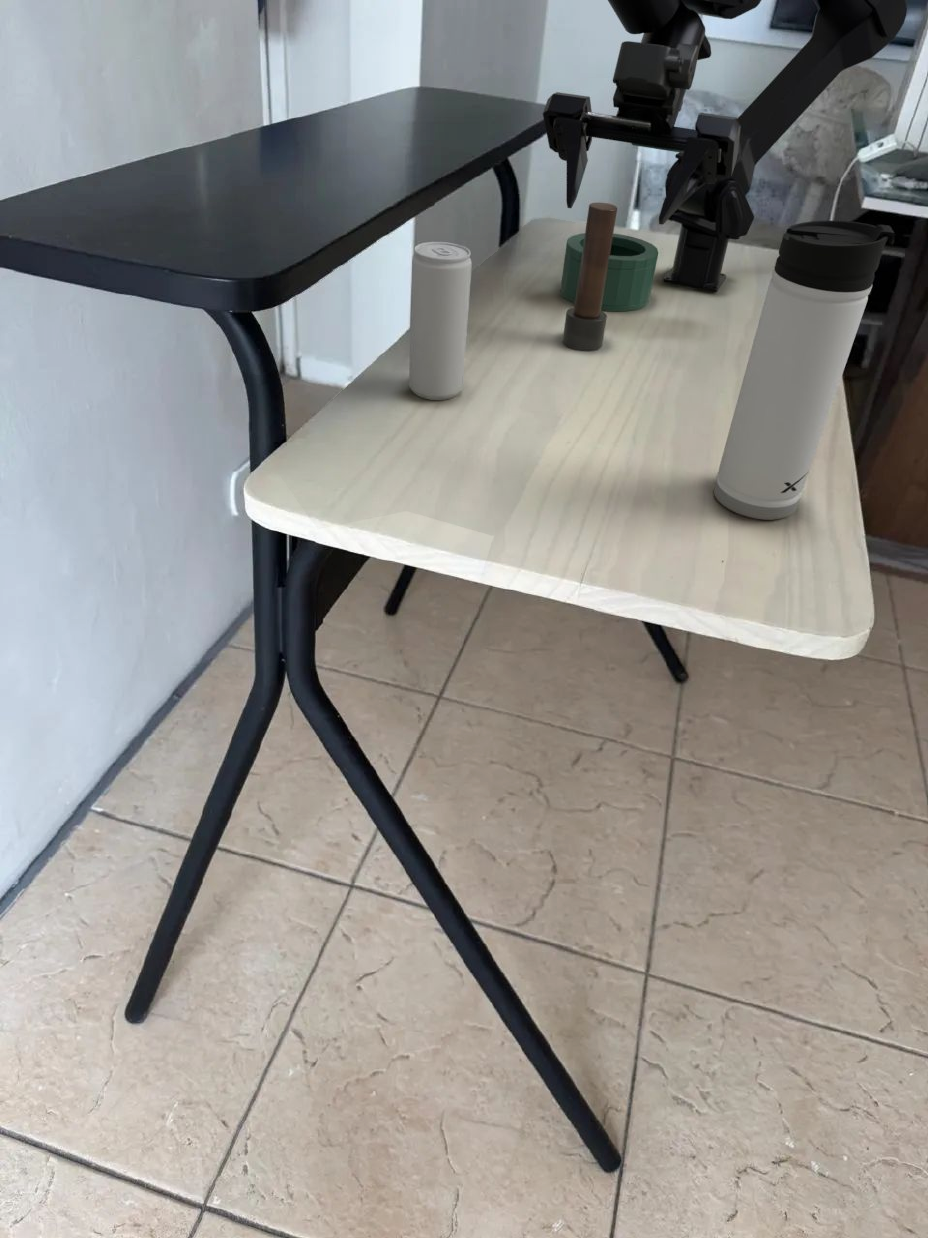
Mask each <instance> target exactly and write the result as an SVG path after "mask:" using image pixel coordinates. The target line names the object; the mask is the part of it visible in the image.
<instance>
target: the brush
mask: <svg viewBox="0 0 928 1238" xmlns="http://www.w3.org/2000/svg"><path fill="white" fill-rule="evenodd" d="M617 213H618V207H617V206H616V205H614V204H611V203H609V202H608V203H607V202H591V203H589V204H588V210H587V217H586V226H585V231H584V233H585V237H584V244H583V251H582V258H581V265H580V272H579V279H578V286H577V293H576V300H575V303H574V306H573V307H570V308H568V309H567V310H566V314H565V321H564V327H563V334H562V342H563V344H564V345H565V346H566V347H568V348H570V349H573V350H575V351H576V350H577V351H585V352H591V351H598V350H599V349H602V347H603V344H604V337H605V331H606V325H607V319H608V314H607V313H606V312H605V311H603V310H601V306H602V300H603V294H604V287H605V281H606V275H607V269H608V263H609V257H610V250H611V244H612V238H613V234H614V232H615V226H616V220H617Z"/></svg>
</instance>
